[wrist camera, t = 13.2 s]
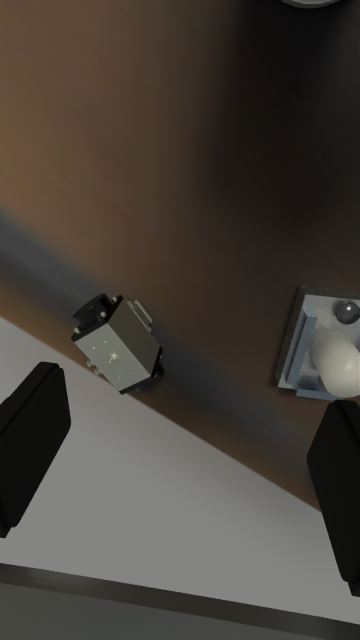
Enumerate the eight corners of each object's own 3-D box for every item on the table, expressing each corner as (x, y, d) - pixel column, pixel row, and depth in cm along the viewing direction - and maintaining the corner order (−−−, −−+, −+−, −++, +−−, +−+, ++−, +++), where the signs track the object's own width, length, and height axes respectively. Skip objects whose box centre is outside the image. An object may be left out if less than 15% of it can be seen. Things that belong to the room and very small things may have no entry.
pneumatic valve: (123, 271, 39) (89, 312, 28) (173, 337, 43) (159, 395, 32) (92, 291, 41) (49, 337, 30) (143, 353, 45) (120, 412, 34)
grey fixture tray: (299, 284, 37) (309, 300, 33) (382, 293, 36) (402, 310, 32) (274, 373, 44) (280, 395, 40) (343, 381, 43) (356, 404, 39)
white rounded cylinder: (316, 329, 36) (333, 358, 31) (358, 334, 36) (382, 364, 31) (301, 372, 40) (314, 404, 34) (339, 377, 39) (358, 410, 34)
